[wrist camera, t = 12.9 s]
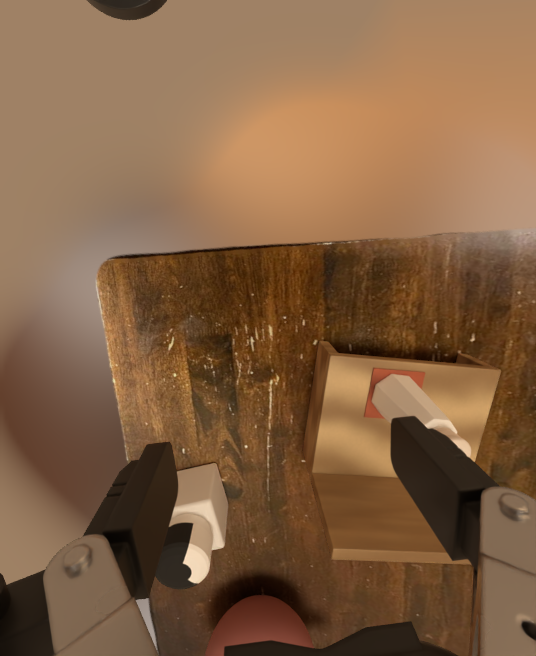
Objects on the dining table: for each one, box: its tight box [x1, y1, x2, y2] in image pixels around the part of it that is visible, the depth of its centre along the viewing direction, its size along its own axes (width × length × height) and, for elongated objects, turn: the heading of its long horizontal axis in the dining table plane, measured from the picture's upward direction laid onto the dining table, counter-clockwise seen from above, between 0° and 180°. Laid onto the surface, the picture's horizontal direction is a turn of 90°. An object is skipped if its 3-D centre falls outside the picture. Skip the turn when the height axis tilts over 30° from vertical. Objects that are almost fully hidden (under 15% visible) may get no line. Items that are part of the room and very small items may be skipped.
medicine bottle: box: [155, 463, 228, 589], centre depth 38 cm, size 7×7×12 cm
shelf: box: [303, 341, 501, 564], centre depth 35 cm, size 16×20×16 cm
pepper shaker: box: [372, 374, 471, 458], centre depth 30 cm, size 5×5×11 cm
